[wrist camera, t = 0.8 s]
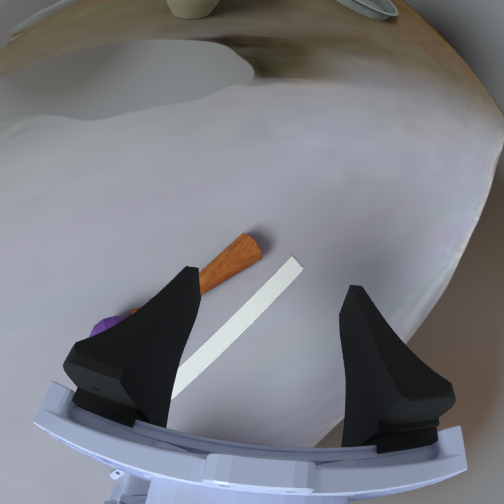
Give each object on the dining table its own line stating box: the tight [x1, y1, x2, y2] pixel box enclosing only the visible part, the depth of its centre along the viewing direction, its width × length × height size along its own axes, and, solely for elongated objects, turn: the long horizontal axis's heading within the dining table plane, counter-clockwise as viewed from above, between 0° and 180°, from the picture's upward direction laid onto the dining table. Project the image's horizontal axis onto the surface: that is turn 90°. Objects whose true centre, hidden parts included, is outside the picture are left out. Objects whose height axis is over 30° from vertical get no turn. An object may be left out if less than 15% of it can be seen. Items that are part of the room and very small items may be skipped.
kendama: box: [90, 233, 262, 337], centre depth 26 cm, size 6×6×20 cm
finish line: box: [171, 257, 303, 400], centre depth 28 cm, size 26×2×1 cm, turn 135°
